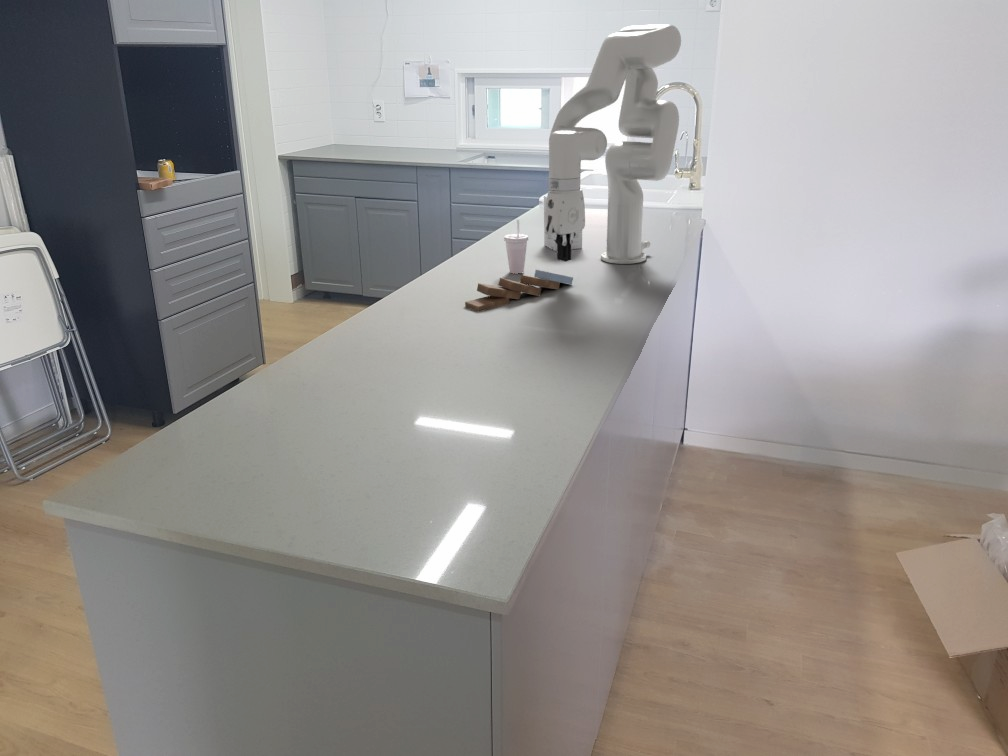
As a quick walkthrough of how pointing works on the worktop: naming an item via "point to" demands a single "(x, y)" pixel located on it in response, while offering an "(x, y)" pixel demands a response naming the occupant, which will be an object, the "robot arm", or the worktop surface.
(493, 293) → the tile
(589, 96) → the robot arm
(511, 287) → the tile
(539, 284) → the tile
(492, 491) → the worktop surface
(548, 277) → the tile
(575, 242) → the supplement box
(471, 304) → the tile
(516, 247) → the smoothie
